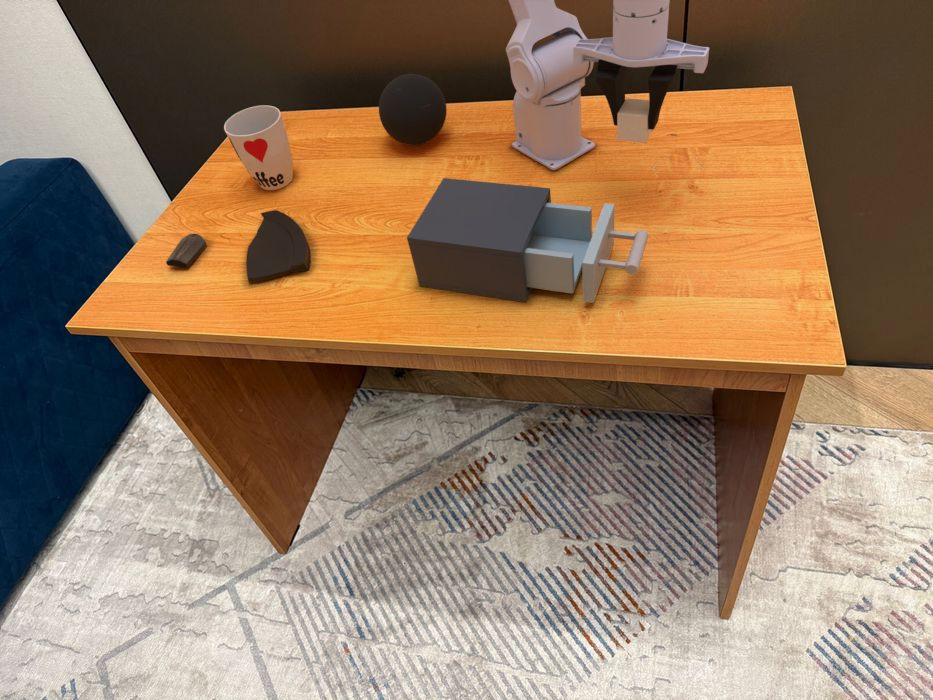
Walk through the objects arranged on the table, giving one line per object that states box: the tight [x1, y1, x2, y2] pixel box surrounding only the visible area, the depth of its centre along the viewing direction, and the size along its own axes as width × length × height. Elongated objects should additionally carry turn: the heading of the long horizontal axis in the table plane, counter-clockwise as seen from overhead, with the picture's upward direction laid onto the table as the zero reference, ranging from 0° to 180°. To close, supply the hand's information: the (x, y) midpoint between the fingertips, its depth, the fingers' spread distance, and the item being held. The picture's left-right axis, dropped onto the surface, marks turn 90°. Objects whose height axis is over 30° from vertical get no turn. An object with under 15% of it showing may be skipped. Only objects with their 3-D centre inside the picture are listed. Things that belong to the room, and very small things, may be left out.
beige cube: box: [616, 97, 653, 144], centre depth 82 cm, size 4×4×4 cm
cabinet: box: [406, 177, 552, 303], centre depth 83 cm, size 14×12×8 cm
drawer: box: [523, 202, 649, 304], centre depth 79 cm, size 17×10×6 cm, turn 70°
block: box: [165, 233, 208, 269], centre depth 95 cm, size 4×6×2 cm, turn 171°
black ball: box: [378, 73, 447, 146], centre depth 103 cm, size 10×10×10 cm
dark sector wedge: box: [245, 209, 312, 284], centre depth 93 cm, size 8×14×2 cm, turn 9°
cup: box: [223, 104, 294, 191], centre depth 101 cm, size 8×8×10 cm
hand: (636, 123), depth 82 cm, fingers closed on beige cube, 3 cm apart
